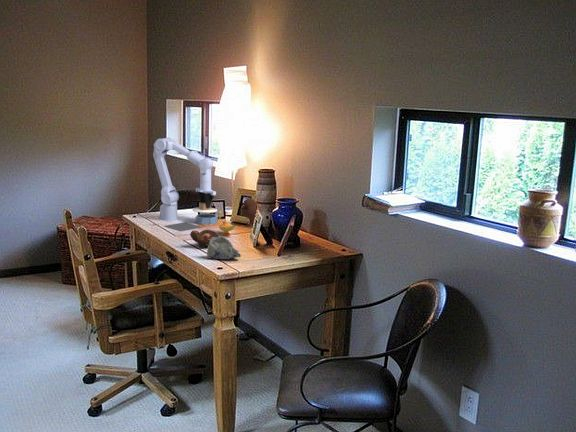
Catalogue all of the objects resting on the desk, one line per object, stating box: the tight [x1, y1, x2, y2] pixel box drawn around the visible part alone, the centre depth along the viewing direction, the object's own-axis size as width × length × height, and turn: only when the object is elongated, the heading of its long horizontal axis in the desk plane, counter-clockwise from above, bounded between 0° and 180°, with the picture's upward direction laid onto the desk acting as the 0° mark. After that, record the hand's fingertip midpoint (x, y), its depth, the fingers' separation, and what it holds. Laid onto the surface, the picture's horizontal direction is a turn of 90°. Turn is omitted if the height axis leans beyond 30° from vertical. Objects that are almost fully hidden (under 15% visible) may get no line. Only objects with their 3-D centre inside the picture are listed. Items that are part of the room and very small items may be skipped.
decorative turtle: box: [189, 229, 220, 249], centre depth 260 cm, size 10×15×8 cm, turn 111°
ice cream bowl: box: [240, 197, 257, 228], centre depth 302 cm, size 11×11×15 cm
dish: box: [195, 213, 219, 226], centre depth 307 cm, size 11×11×4 cm
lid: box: [192, 202, 218, 214], centre depth 304 cm, size 13×13×4 cm
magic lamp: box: [218, 210, 239, 237], centre depth 282 cm, size 7×18×11 cm, turn 36°
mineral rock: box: [206, 235, 242, 260], centre depth 241 cm, size 13×11×10 cm
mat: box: [163, 221, 204, 232], centre depth 296 cm, size 15×14×1 cm
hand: (205, 207), depth 305 cm, fingers closed on lid, 3 cm apart
